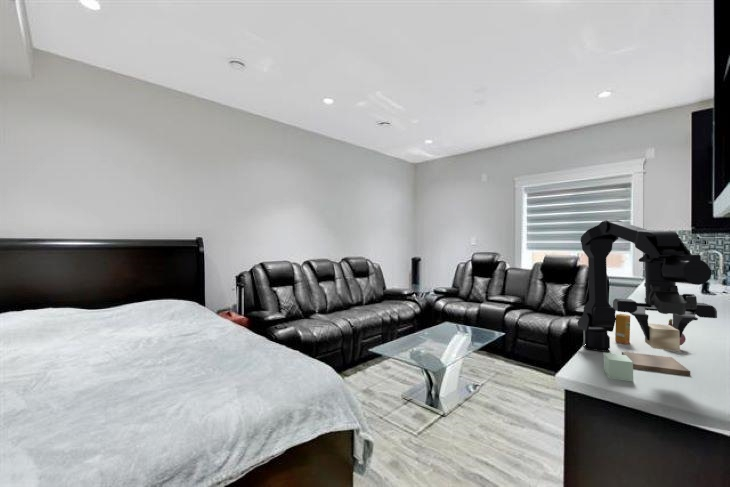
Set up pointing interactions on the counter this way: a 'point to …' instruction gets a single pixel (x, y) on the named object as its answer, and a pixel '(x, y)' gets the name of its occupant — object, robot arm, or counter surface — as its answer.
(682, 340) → the vegetable
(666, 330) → the beech brick
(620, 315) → the supplement box
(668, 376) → the counter surface
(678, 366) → the walnut baseboard
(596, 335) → the robot arm
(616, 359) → the sage green brick
